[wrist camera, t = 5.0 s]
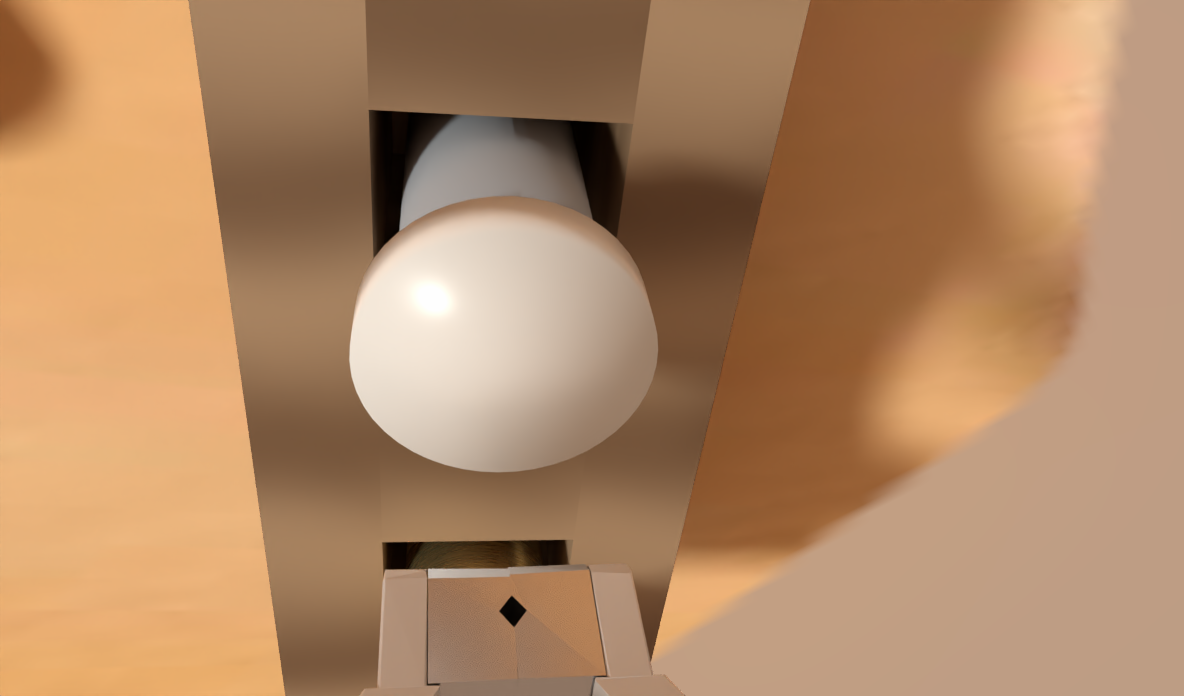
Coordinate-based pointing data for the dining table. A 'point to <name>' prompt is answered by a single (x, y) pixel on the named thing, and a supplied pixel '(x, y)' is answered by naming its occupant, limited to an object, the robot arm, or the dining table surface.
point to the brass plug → (473, 554)
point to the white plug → (500, 303)
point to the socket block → (372, 217)
